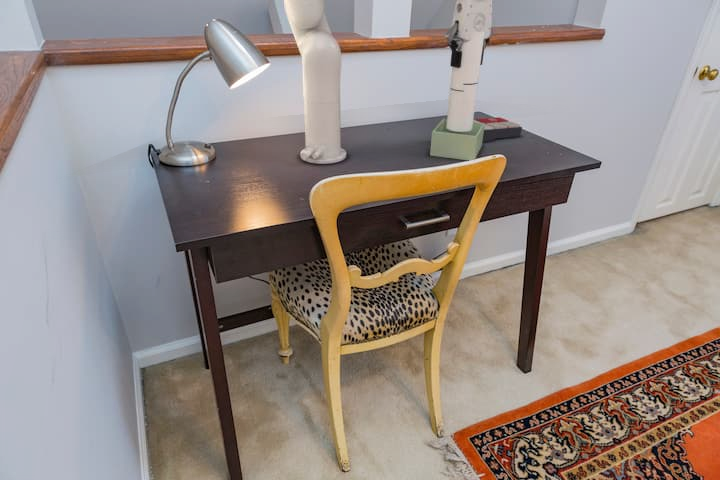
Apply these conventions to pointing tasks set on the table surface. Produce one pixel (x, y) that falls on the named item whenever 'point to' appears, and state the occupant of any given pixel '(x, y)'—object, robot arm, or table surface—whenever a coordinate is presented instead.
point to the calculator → (499, 128)
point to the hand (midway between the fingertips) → (466, 65)
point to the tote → (456, 141)
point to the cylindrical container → (465, 85)
